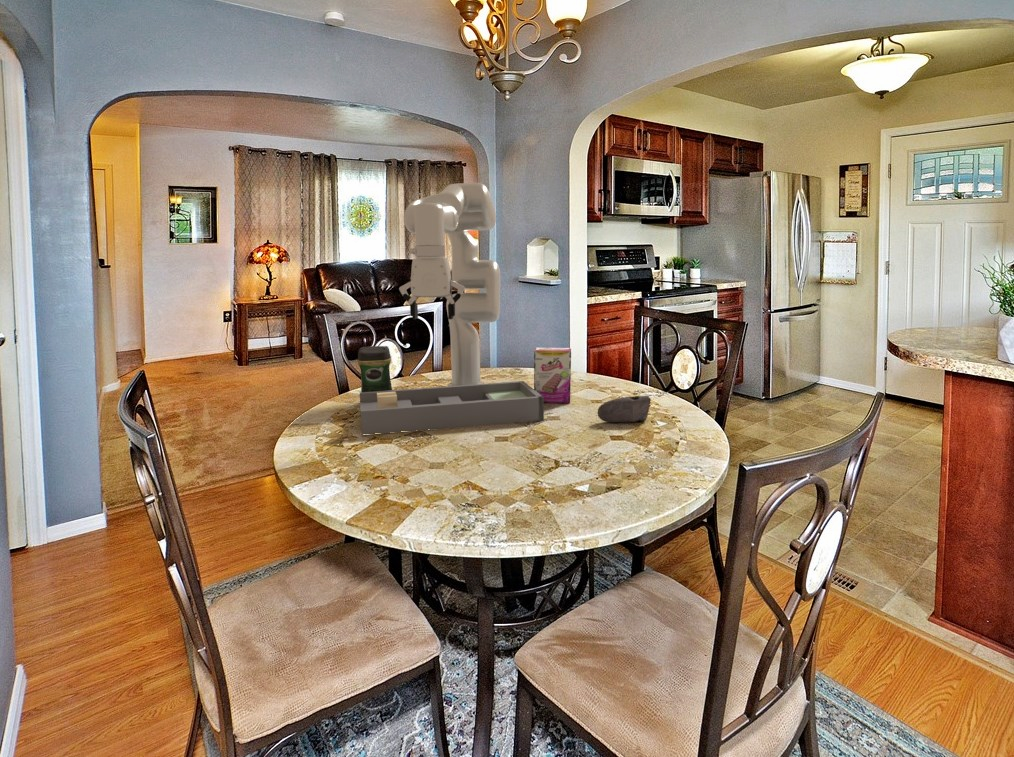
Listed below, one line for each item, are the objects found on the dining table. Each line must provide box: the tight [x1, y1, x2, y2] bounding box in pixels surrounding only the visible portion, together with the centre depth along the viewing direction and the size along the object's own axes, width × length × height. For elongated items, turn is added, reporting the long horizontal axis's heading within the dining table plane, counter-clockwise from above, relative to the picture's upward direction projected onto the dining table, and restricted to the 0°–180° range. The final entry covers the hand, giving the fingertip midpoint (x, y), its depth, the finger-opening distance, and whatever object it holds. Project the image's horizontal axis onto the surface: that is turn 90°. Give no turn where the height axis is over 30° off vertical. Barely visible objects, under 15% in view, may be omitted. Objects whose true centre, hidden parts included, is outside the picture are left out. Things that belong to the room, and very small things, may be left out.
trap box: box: [359, 380, 545, 436], centre depth 174 cm, size 21×48×6 cm, turn 104°
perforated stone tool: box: [597, 395, 652, 424], centre depth 167 cm, size 15×5×7 cm, turn 94°
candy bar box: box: [533, 347, 572, 404], centre depth 188 cm, size 11×5×16 cm, turn 84°
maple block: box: [377, 392, 398, 409], centre depth 165 cm, size 5×5×5 cm
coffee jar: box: [357, 345, 393, 392], centre depth 184 cm, size 10×8×19 cm
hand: (433, 318), depth 164 cm, fingers open, 9 cm apart
